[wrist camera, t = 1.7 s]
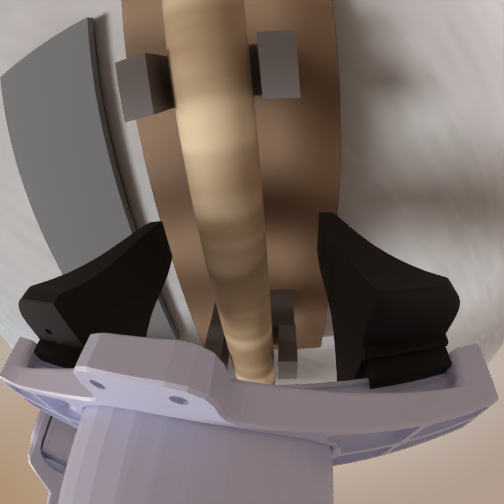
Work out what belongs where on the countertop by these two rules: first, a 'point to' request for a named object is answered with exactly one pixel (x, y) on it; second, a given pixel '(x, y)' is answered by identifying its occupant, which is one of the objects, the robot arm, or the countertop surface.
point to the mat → (70, 154)
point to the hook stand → (270, 153)
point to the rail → (224, 169)
